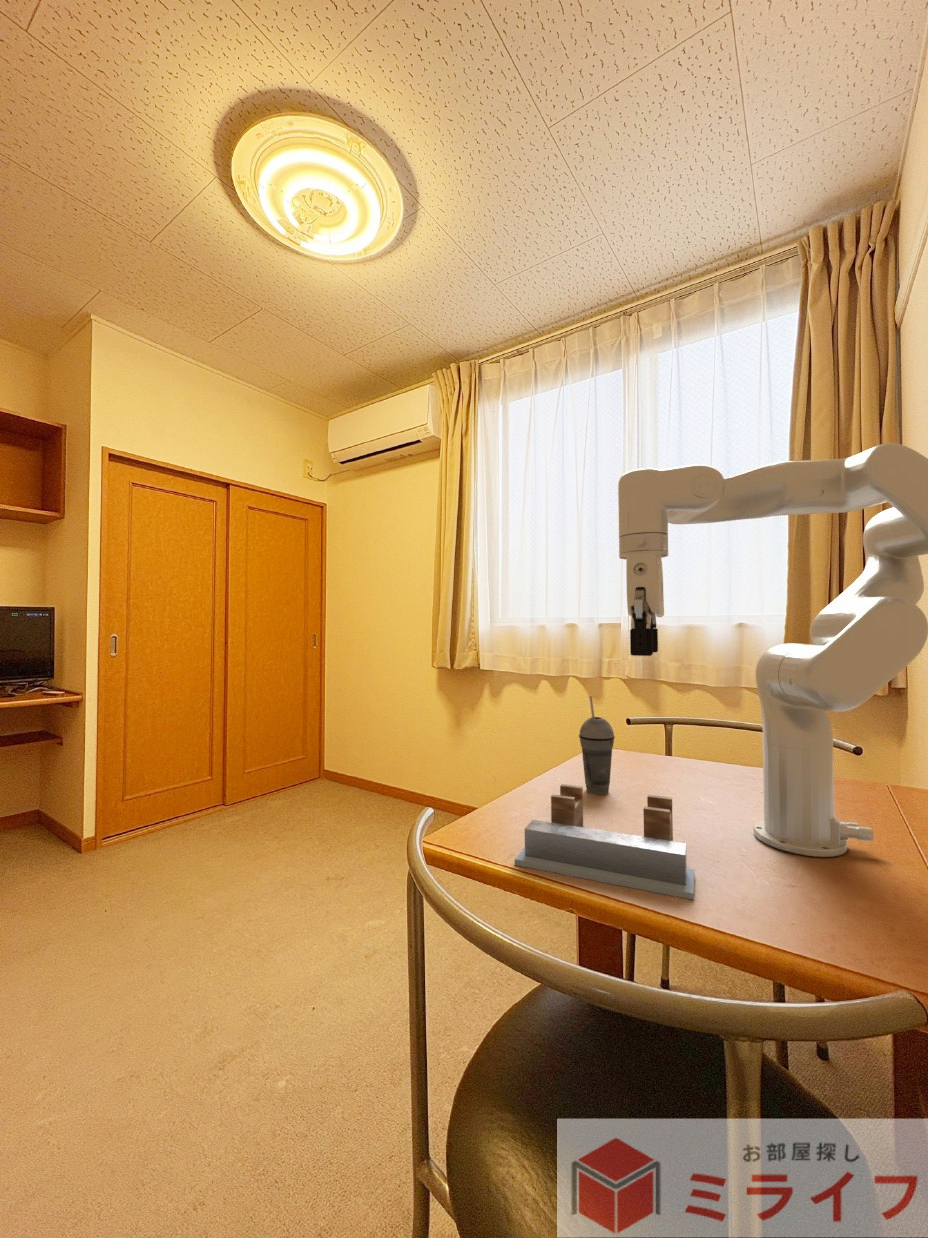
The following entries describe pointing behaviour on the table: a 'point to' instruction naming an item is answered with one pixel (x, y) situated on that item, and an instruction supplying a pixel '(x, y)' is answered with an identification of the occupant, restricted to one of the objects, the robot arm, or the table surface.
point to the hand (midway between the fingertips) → (644, 653)
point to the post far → (568, 806)
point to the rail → (607, 851)
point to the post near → (658, 818)
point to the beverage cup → (596, 753)
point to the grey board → (611, 876)
